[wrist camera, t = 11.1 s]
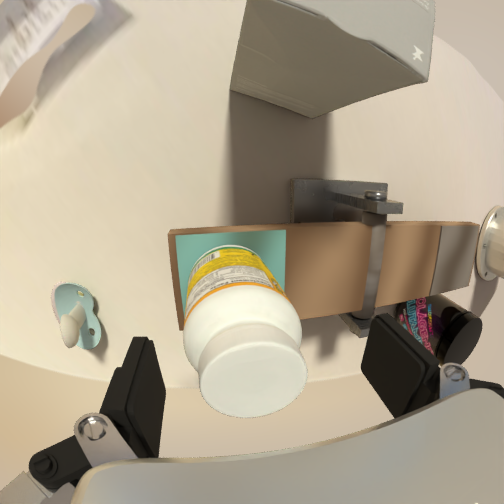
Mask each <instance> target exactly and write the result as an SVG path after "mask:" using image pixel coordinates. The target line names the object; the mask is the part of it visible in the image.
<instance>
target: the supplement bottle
mask: <svg viewBox="0 0 504 504" xmlns="http://www.w3.org/2000/svg"><path fill="white" fill-rule="evenodd" d="M301 340H302V327H301V322H300V319H299V316H298V314H297V312H296V310H295V309H294V307H293V305H292V304H291V302H290V301H289V299H288V297H287V296H286V294H285V293H284V291H283V290H282V288H281V287H280V285H279V284H278V282H277V281H276V279H275V278H274V276H273V275H272V273H271V272H270V270H269V268H268V267H267V266H266V264H265V263H264V262H263V260H262V259H261V258H260V257H259V256H258V255H257V254H256V253H255V252H253V251H252V250H250V249H248V248H246V247H243V246H238V245H223V246H219V247H216V248H213V249H211V250H209V251H208V252H206V253H204V254H203V255H202V256H201V257H200V258H199V259H198V260H197V261H196V263H195V264H194V266H193V268H192V270H191V272H190V276H189V280H188V290H187V300H186V309H185V320H184V331H183V344H184V349H185V353H186V356H187V358H188V360H189V362H190V363H191V365H192V366H193V367H194V369H195V370H196V371H197V372H198V374H199V387H200V392H201V394H202V397H203V398H204V400H205V401H206V403H207V404H208V405H210V407H212V408H213V409H215V410H216V411H218V412H220V413H222V414H225V415H228V416H233V417H240V418H254V417H260V416H265V415H268V414H271V413H274V412H277V411H279V410H281V409H283V408H284V407H286V406H288V405H289V404H290V403H291V402H293V401H294V400H295V399H296V398H297V397H298V396H299V394H300V393H301V392H302V390H303V389H304V386H305V384H306V381H307V374H308V370H307V366H306V363H305V360H304V358H303V356H302V354H301V352H300V350H299V349H300V345H301Z"/></svg>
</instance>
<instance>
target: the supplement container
mask: <svg viewBox="0 0 504 504" xmlns="http://www.w3.org/2000/svg"><path fill="white" fill-rule="evenodd" d="M395 320H396V321H397V322H398V323H399V324H400V325H402V326H403V327H404V328H405V329H406V330H407V331H408V332H409V333H410V334H411V335H413V336H414V337H415V338H416V339H417V340H418V341H419V342H420V343H421V344H422V345H423V346H424V347H425V348H427V349H428V350H429V351H430V352H431V353H432V354H433V355H434V356H435V357H436V358H437V359H438V360H439V361H440V363H439V365H440V366H441V367H442V366H443V365H444V364H446V363H456V364H459V365H461V364H462V363H463V362H464V361H465V360H466V359H467V358H468V356H469V355H470V354H471V352H472V351H473V349H474V347H475V346H476V344H477V342H478V340H479V337H480V334H481V331H482V321H481V319H480V318H478V317H477V316H475V315H474V314H473V313H471V312H469V311H467V310H466V309H464V308H463V307H461V306H459V305H458V304H456V303H455V302H453V301H452V300H450V299H448V298H447V297H445V296H444V295H442V294H436V295H432V296H427V297H423V298H418V299H414V300H409V301H405V302H400V303H398V304H397V307H396V311H395Z"/></svg>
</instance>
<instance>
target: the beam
mask: <svg viewBox="0 0 504 504" xmlns="http://www.w3.org/2000/svg"><path fill="white" fill-rule="evenodd" d="M479 228H480V225H479V224H476V223H472V222H448V221H387V214H377V213H373V212H370V211H363V212H362V222H321V223H288V224H263V225H241V226H221V227H203V228H186V229H171V230H170V231H169V233H168V243H169V253H170V263H171V272H172V280H173V288H174V296H175V303H176V310H177V317H178V323H179V330H180V331H181V330H184V320H185V309H186V300H187V290H188V280H189V276H190V272H191V270H192V268H193V266H194V264H195V263H196V261H197V260H198V259H199V258H200V257H201V256H202V255H203V254H204V253H206V252H208V251H209V250H211V249H213V248H216V247H219V246H223V245H238V246H243V247H246V248H248V249H250V250H252V251H253V252H255V253H256V254H257V255H258V256H259V257H260V258H261V259H262V260H263V262H264V263H265V264H266V266H267V267H268V268H269V270H270V272H271V273H272V275H273V276H274V278H275V279H276V281H277V282H278V284H279V285H280V287H281V288H282V290H283V291H284V293H285V294H286V296H287V297H288V299H289V301H290V302H291V304H292V305H293V307H294V309H295V310H296V312H297V314H298V316H299V319H300V320H302V319H309V318H316V317H323V316H329V315H336V314H342V313H348V312H351V313H352V315H353V316H355V317H357V318H361V319H368V318H371V317H372V316H373V314H374V309H375V307H381V306H386V305H391V304H395V303H400V302H405V301H409V300H414V299H418V298H423V297H427V296H432V295H436V294H440V293H444V292H448V291H452V290H456V289H459V288H463V287H467V286H469V282H470V278H471V273H472V269H473V264H474V259H475V253H476V248H477V242H478V235H479Z"/></svg>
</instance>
